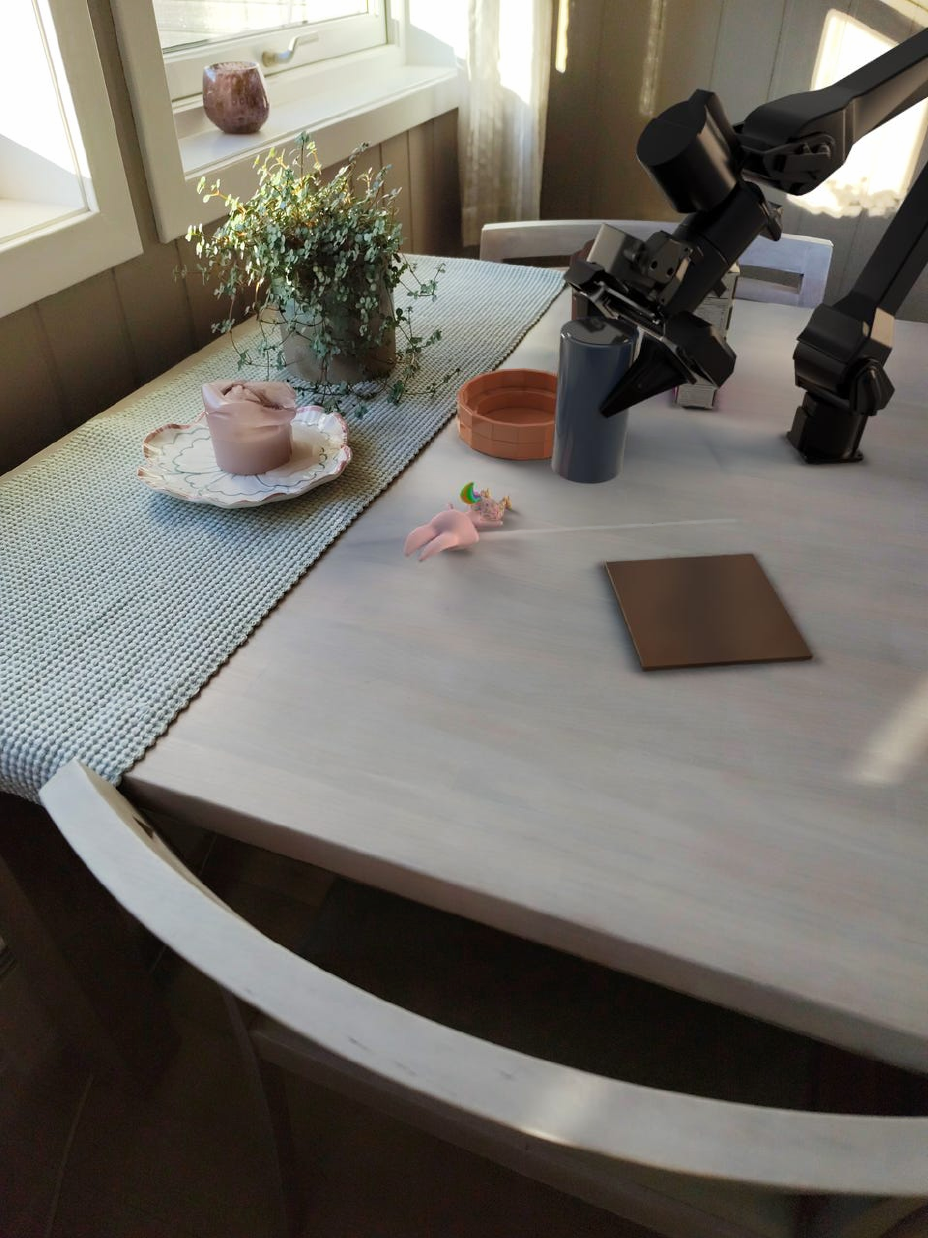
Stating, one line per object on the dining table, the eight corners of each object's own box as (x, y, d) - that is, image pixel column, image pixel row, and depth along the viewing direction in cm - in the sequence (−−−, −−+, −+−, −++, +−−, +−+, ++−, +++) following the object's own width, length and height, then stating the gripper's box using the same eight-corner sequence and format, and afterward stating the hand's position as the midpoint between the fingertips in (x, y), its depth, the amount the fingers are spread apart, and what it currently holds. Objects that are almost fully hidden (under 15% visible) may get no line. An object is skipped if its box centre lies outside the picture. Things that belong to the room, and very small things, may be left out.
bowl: (569, 401, 105) (572, 366, 102) (594, 460, 94) (598, 423, 91) (453, 406, 104) (452, 370, 101) (464, 466, 93) (464, 429, 90)
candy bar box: (673, 368, 112) (695, 235, 102) (712, 371, 111) (738, 238, 101) (671, 407, 104) (695, 267, 93) (714, 411, 103) (742, 270, 92)
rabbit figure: (470, 510, 89) (383, 563, 78) (475, 455, 86) (385, 503, 75) (522, 528, 87) (441, 586, 75) (530, 473, 83) (446, 525, 72)
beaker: (586, 440, 85) (599, 309, 76) (636, 467, 81) (656, 332, 72) (536, 462, 81) (544, 328, 73) (586, 492, 78) (600, 353, 69)
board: (751, 557, 81) (752, 553, 80) (811, 659, 70) (813, 655, 70) (604, 566, 80) (604, 561, 79) (642, 671, 69) (643, 666, 69)
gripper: (590, 157, 73) (474, 309, 77) (736, 215, 61) (589, 394, 64) (653, 240, 81) (545, 375, 84) (795, 307, 68) (661, 462, 72)
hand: (580, 398), depth 76 cm, fingers closed on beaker, 6 cm apart
